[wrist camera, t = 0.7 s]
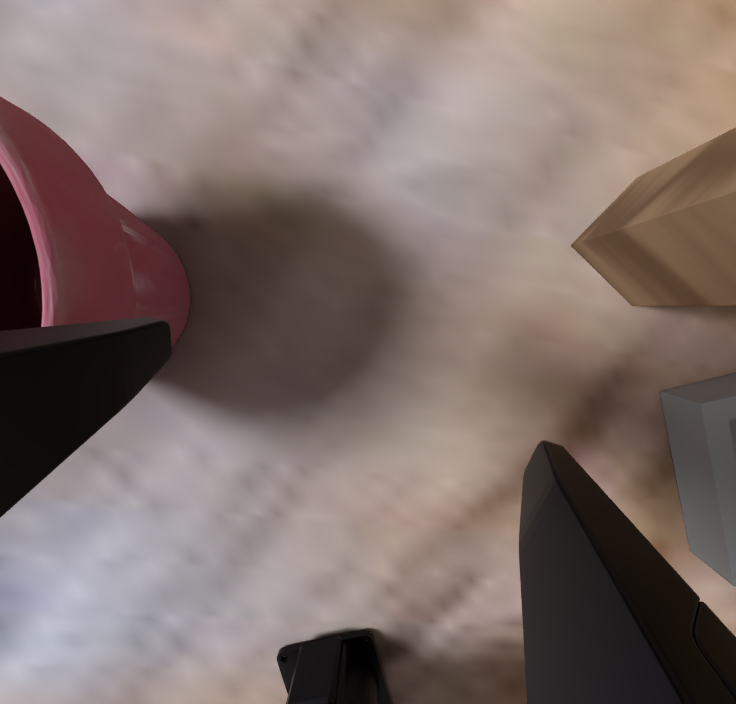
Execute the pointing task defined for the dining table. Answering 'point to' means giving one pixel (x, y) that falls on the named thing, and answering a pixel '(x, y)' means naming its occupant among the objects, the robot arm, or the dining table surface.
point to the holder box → (706, 466)
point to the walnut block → (672, 231)
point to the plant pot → (74, 241)
